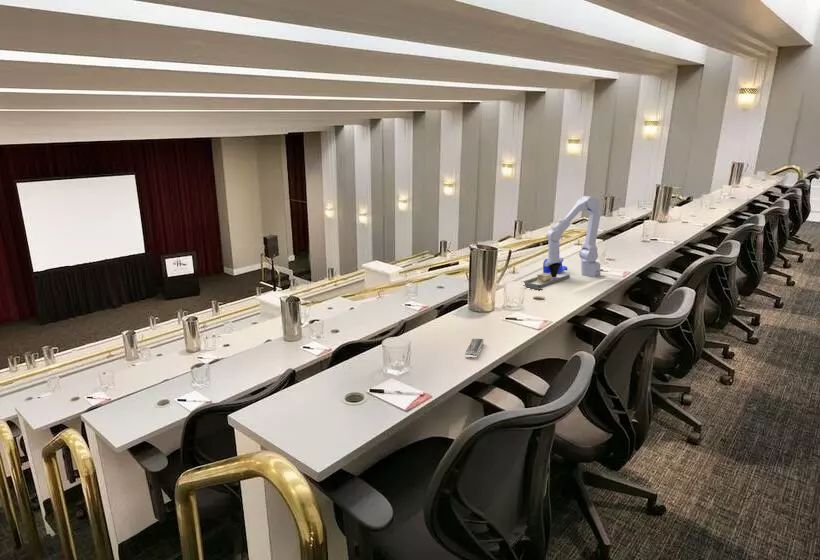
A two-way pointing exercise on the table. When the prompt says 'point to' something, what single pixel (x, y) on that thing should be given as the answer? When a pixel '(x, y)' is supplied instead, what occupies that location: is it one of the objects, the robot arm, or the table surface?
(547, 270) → the bracket
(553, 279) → the box
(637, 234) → the table surface
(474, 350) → the multiport hub
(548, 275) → the block
